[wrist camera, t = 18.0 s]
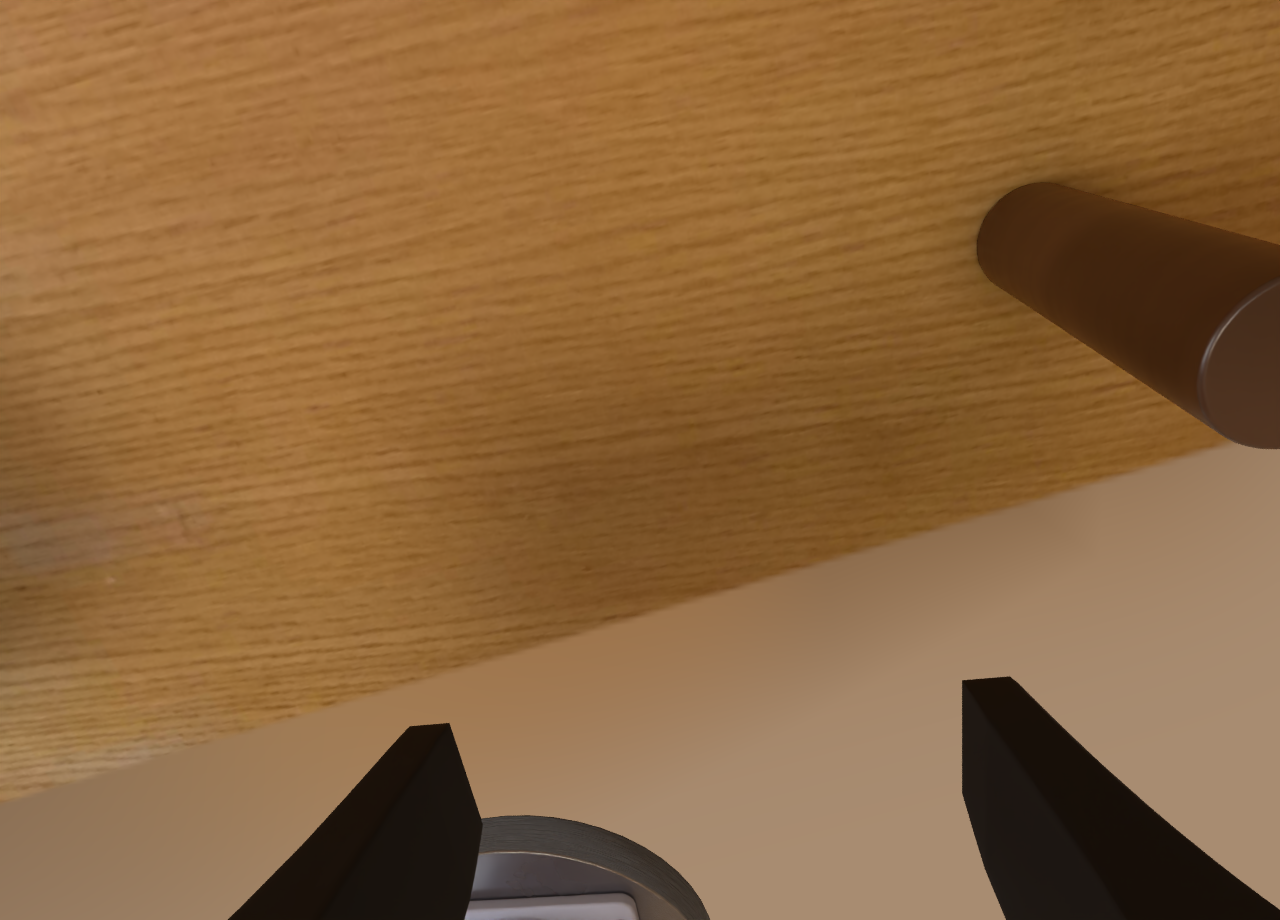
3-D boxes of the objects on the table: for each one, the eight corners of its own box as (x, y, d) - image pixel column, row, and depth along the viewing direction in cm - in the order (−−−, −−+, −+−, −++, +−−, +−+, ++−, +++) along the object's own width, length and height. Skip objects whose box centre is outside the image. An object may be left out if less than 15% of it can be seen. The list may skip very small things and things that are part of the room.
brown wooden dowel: (1084, 283, 19) (1390, 439, 10) (975, 298, 19) (1189, 462, 11) (1091, 173, 18) (1434, 250, 9) (976, 191, 18) (1211, 280, 10)
